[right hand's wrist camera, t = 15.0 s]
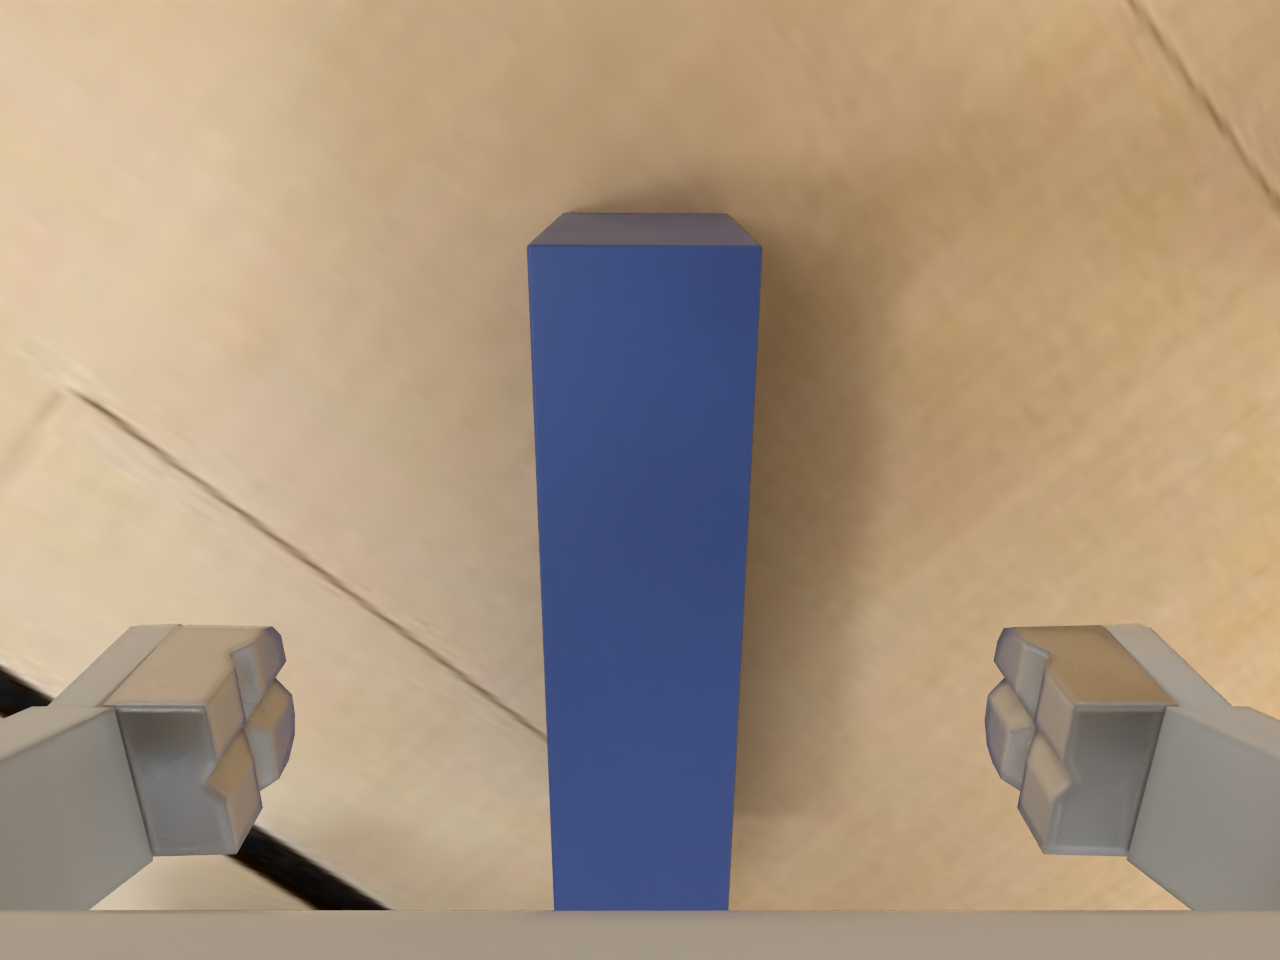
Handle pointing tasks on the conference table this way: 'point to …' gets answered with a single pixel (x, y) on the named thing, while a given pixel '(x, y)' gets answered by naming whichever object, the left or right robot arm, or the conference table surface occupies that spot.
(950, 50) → the conference table surface
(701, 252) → the box
